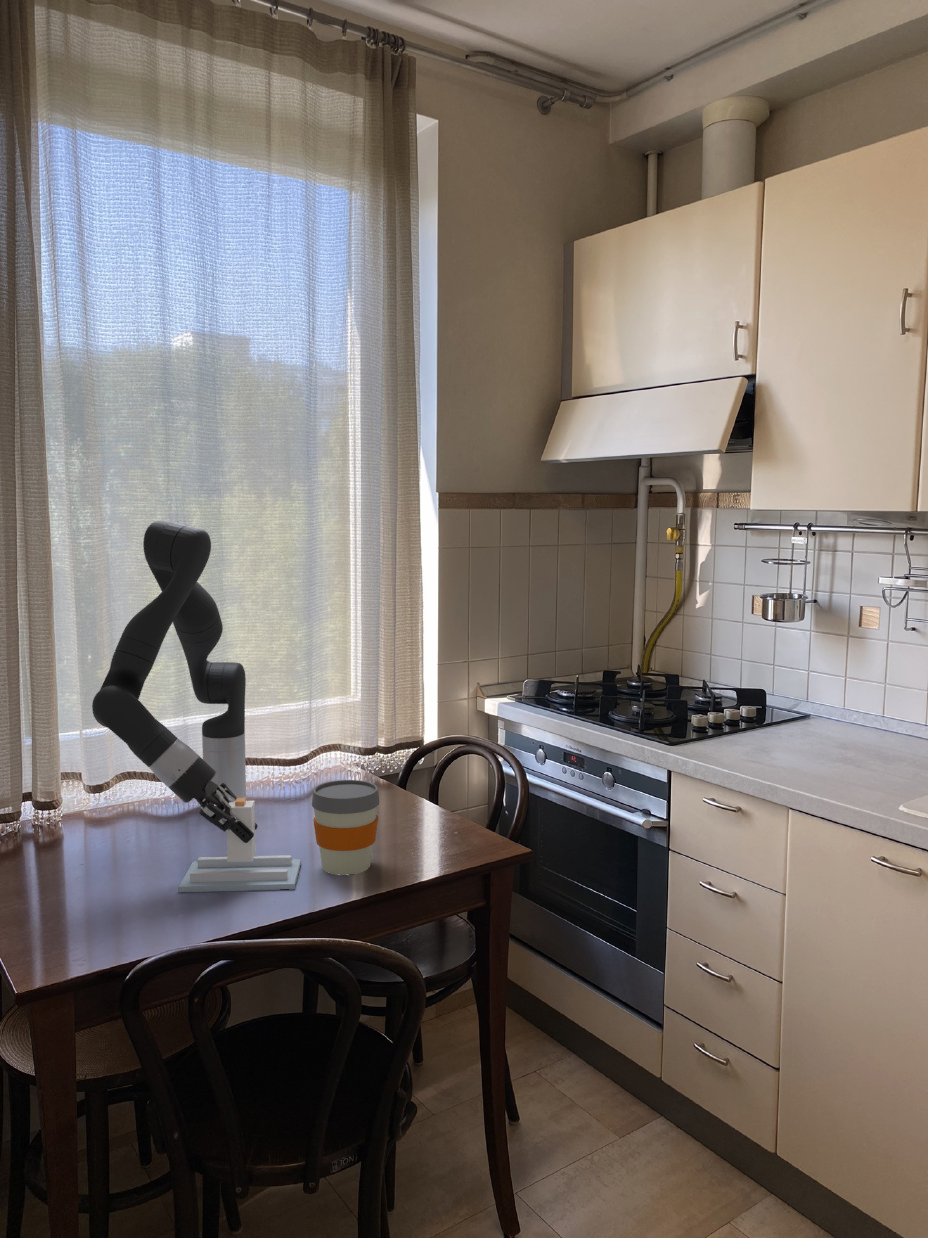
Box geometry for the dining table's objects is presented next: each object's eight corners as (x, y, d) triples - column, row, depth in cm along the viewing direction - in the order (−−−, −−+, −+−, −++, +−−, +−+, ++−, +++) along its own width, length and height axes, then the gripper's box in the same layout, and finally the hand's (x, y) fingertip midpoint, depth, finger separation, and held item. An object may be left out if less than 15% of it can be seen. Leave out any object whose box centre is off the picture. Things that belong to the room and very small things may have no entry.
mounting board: (178, 892, 161) (178, 878, 161) (193, 866, 173) (192, 853, 172) (294, 889, 162) (294, 875, 162) (300, 863, 174) (300, 851, 174)
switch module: (227, 861, 165) (226, 803, 164) (231, 853, 169) (230, 796, 168) (252, 861, 165) (251, 802, 164) (255, 853, 169) (254, 796, 168)
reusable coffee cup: (391, 870, 171) (391, 792, 170) (329, 884, 165) (328, 803, 163) (361, 849, 182) (361, 775, 180) (302, 862, 175) (301, 785, 174)
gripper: (188, 766, 157) (261, 833, 160) (205, 746, 171) (272, 808, 174) (157, 796, 157) (231, 863, 160) (176, 774, 172) (244, 836, 174)
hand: (252, 834), depth 167 cm, fingers closed on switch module, 4 cm apart
